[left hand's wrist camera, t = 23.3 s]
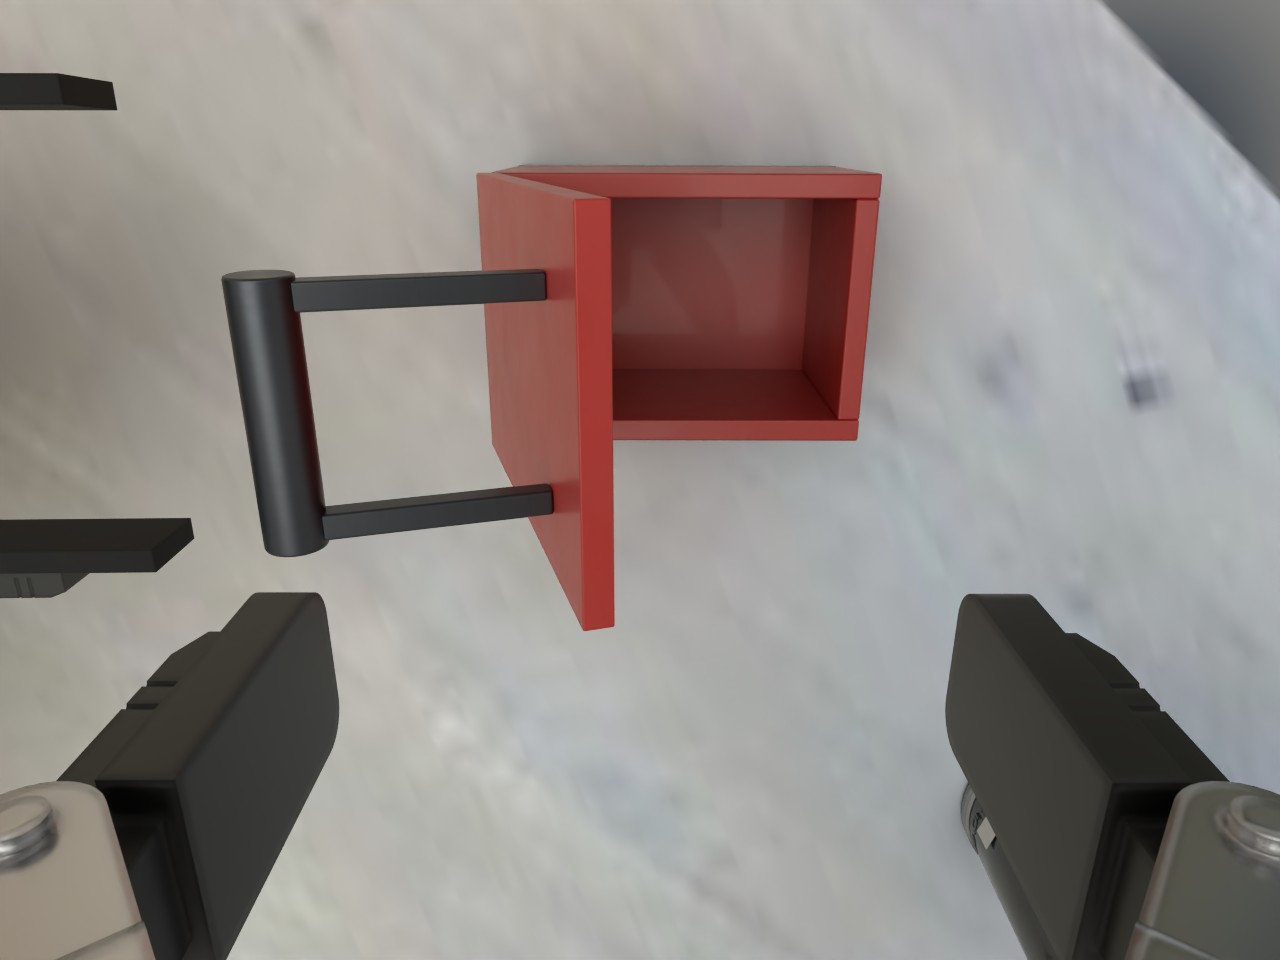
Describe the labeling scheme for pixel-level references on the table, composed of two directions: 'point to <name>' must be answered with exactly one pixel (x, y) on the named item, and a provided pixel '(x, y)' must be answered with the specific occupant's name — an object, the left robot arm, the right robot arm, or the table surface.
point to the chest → (735, 297)
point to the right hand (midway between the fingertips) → (136, 337)
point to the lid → (518, 387)
